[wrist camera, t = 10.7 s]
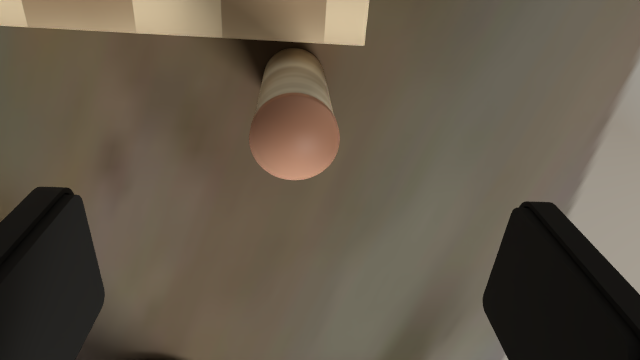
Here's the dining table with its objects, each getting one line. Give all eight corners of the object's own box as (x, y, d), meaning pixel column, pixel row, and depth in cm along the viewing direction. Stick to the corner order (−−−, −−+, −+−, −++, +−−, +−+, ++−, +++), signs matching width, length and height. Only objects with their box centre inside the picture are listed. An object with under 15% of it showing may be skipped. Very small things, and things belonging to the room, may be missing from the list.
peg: (323, 110, 24) (335, 181, 17) (262, 107, 24) (249, 178, 17) (327, 48, 22) (343, 99, 15) (262, 45, 22) (248, 94, 15)
